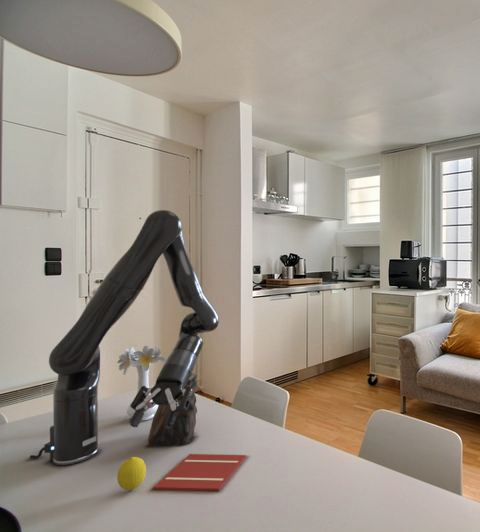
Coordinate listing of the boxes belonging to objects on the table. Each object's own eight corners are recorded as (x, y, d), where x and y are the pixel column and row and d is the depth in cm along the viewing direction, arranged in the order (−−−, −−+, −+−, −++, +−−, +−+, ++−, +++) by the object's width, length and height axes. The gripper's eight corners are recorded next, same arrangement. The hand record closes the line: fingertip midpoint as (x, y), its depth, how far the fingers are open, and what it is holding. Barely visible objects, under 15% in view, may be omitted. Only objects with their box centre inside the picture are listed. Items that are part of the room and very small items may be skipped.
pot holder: (153, 489, 88) (153, 486, 88) (189, 456, 103) (189, 453, 103) (219, 491, 88) (219, 488, 88) (246, 457, 103) (246, 454, 103)
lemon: (131, 499, 85) (131, 464, 85) (111, 495, 86) (111, 461, 86) (151, 484, 90) (151, 452, 90) (132, 481, 91) (132, 449, 91)
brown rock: (176, 427, 121) (176, 366, 120) (211, 430, 119) (212, 368, 118) (144, 446, 108) (144, 379, 108) (183, 450, 106) (183, 381, 106)
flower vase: (143, 406, 137) (142, 339, 136) (177, 415, 130) (177, 344, 129) (103, 420, 125) (103, 347, 124) (138, 430, 118) (138, 353, 117)
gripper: (146, 362, 103) (114, 420, 92) (197, 363, 103) (170, 421, 91) (159, 374, 108) (130, 431, 97) (207, 375, 108) (183, 433, 97)
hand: (149, 426), depth 94 cm, fingers open, 8 cm apart
